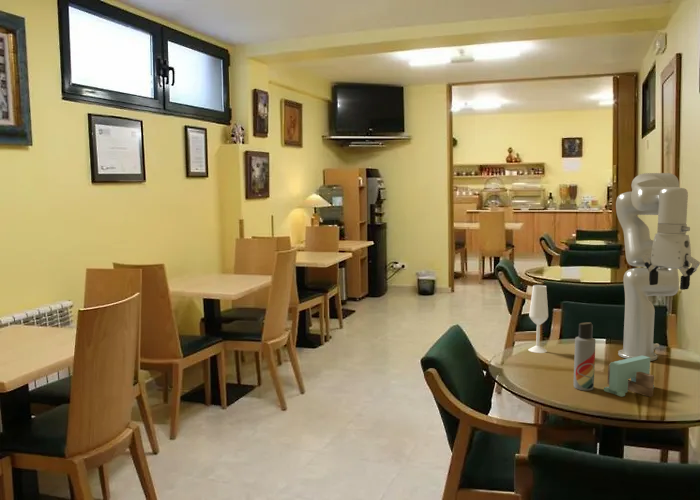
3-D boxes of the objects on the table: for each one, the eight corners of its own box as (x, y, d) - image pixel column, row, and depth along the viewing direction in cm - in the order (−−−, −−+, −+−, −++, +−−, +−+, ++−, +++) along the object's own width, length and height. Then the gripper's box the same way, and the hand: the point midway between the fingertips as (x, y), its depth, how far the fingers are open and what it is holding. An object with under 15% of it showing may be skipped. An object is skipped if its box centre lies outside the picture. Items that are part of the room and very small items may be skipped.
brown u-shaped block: (607, 383, 190) (608, 364, 189) (610, 382, 191) (611, 363, 190) (649, 396, 178) (650, 376, 177) (652, 395, 179) (653, 375, 178)
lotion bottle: (591, 392, 182) (594, 325, 180) (571, 388, 185) (573, 323, 183) (595, 386, 187) (597, 321, 185) (575, 383, 190) (578, 319, 188)
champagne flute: (531, 347, 233) (533, 284, 230) (549, 349, 229) (551, 285, 226) (525, 351, 227) (527, 286, 225) (543, 353, 223) (545, 288, 221)
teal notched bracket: (636, 382, 191) (637, 354, 190) (654, 388, 185) (655, 358, 184) (603, 390, 183) (605, 361, 182) (621, 396, 178) (623, 366, 177)
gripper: (708, 231, 177) (704, 290, 179) (652, 227, 192) (649, 282, 194) (692, 232, 173) (689, 292, 175) (637, 228, 188) (634, 284, 190)
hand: (668, 286), depth 185 cm, fingers open, 9 cm apart
